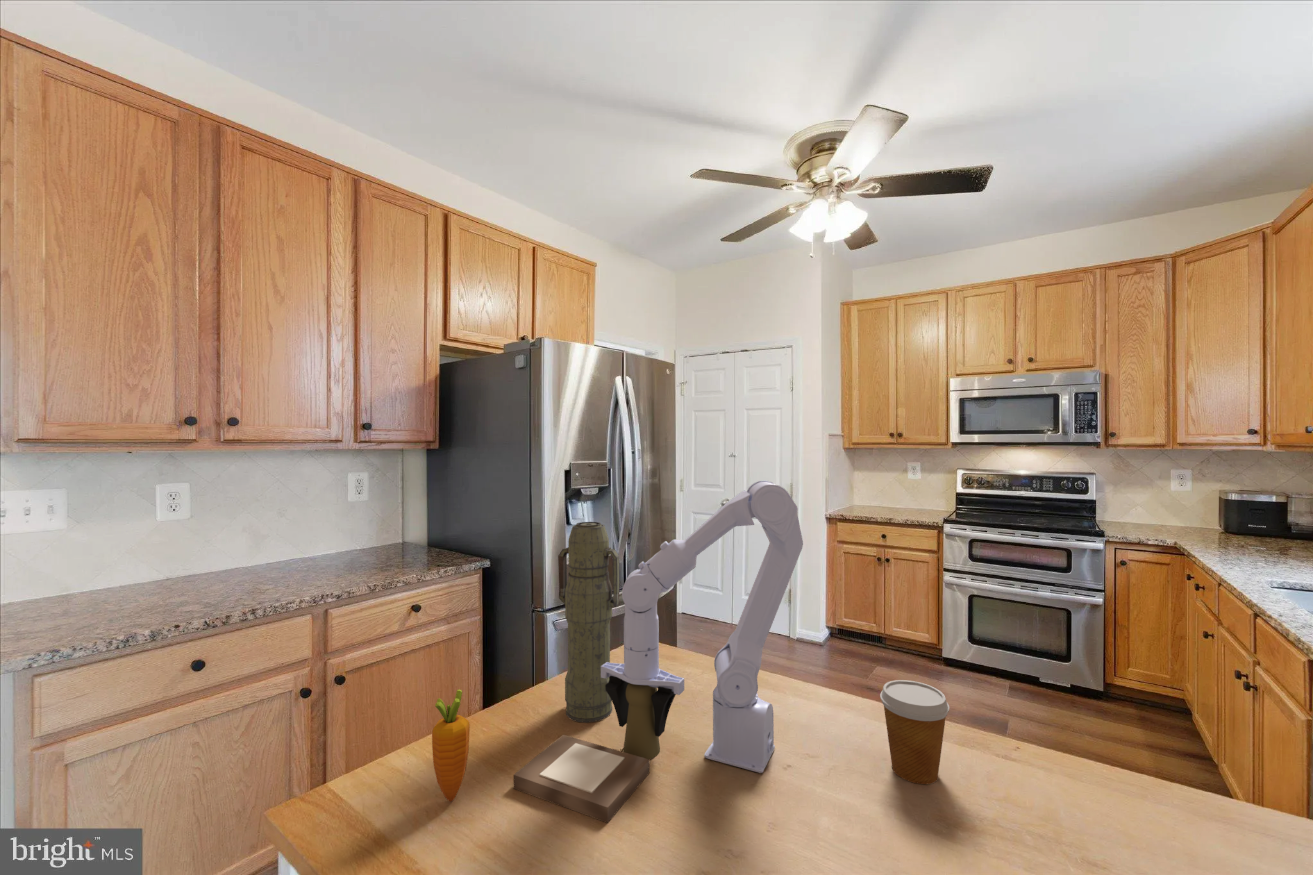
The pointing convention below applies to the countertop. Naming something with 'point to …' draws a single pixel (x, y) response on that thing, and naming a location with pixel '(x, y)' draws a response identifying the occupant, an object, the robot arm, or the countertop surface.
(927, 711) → the disposable coffee cup
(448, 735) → the carrot
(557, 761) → the walnut plinth
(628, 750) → the olive pawn piece
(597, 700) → the thermos
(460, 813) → the countertop surface
